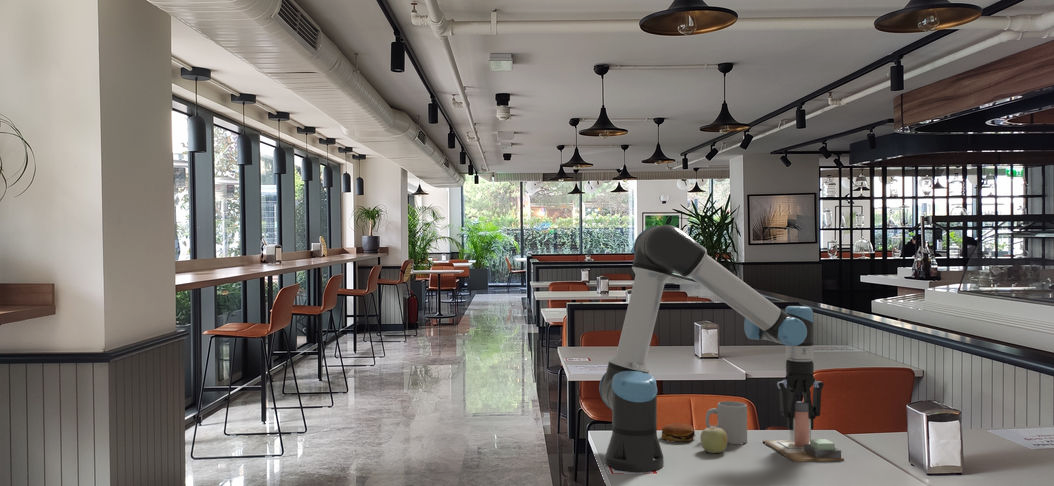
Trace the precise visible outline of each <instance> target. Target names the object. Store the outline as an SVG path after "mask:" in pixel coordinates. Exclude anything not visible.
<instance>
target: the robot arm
mask: <svg viewBox="0 0 1054 486" xmlns="http://www.w3.org/2000/svg"><path fill="white" fill-rule="evenodd" d="M633 254H634V258H633V261H632V265H631V269H632V271H633V273H634V274H635V276H634V281H633V284H632V288H631V292H630V297H629V301H628V305H627V309H626V312H625V318H624V320H623V321H624V322H623V325H622V329H621V333H620V337H619V342H618V346H617V350H616V354H615V355H614V357H612V358H610V359H609V360H608V363H607V368H606V372H605V373H604V374H603V375H602V377H601V379H600V381H599V386H598V387H599V388H598V389H599V394H600V398H601V399H602V401H603V403H604V405H606V406H607V408H608V409H610V410H611V411H612V412H611V413H612V414H611V416H612V417H611V418H612V420H611V421H612V425H611V426H612V427H611V429H612V432H611V437H610V439H609V443H608V446H607V449H606V453H605V464H606V466H608V467H610V468H613V469H616V470H621V471H626V472H651V471H656V470H659V469H661V468H663V467H664V463H665V462H664V454H663V450H662V448H661V444H660V442H659V438H658V433H657V432H658V431H657V429H658V428H657V426H658V425H657V423H658V421H657V417H658V416H657V414H658V411H657V410H658V408H657V407H658V406H657V405H658V400H657V397H658V387H657V380H656V378H655V377H654V376H653V375H652V374H649V373H650V370H649V369H648V366H647V365H646V362H647V358H648V354H649V349H650V346H651V343H652V342H651V341H652V337H653V333H654V330H655V325H656V322H657V316H658V313H659V309H660V305H661V300H662V298H663V297H662V296H663V292H664V290H665V289H664V288H665V284H666V282H667V281H669V280H670V279H672V278H673V274H674V272H676V273H678V274H679V275H681V277H683V278H690V279H691V280H693V281H695V283H698V284H699V285H700V286H701V287H703V288H704V289H706V290H707V291H708V292H710V293H711V294H712V295H714V296H716V297H717V298H718V299H719V300H721V301H722V302H724V303H725V304H726V305H728V306H729V307H730V308H732V309H733V310H735V311H736V312H737V313H738V314H740V315H741V316H742V317H744V321H743V322H744V323H743V325H744V326H743V328H744V333H745V336H746V337H747V338H748V339H749V340H756V341H759V340H760V341H761V340H763V341H764V340H765V341H768V342H769V341H770V342H773V343H778V344H781V345H784V346H785V358H786V361H785V377H784V379H783V380H782V381H776V383H775V384H776V387H777V389H778V400H779V402H778V403H779V412H780V413H779V414H780V415H781V416H783V417H785V418H786V428H787V429H788V430H789V440H791V441H793V442H795V419H794V414H795V403H796V402H797V400H798V396H799V394H800V393H801V394H802V398H803V399H802V400H803V402H807V403H808V410H809V411H808V416H809V442H810V439H812V431H813V430H814V426H815V425H814V422H815V421H814V420H815V419H816V417H821V407H822V404H821V403H822V390H823V387H824V386H825V383H824V382H822V381H818V380H816V378H815V376H814V371H815V369H814V367H815V364H814V361H813V359H814V323H815V322H814V311H813V309H812V308H811V307H810V306H801V305H788V306H786V307H785V309H784V310H782V309H781V308H779V307H778V306H777V305H775V304H774V303H773V302H771V300H769V299H767V298H766V297H765V296H763V295H762V294H761V293H759V292H758V291H757V290H756V289H754V288H752V287H751V286H750V285H749V284H747V283H746V282H744V280H742V279H740V277H738V276H737V275H735V274H734V273H733V272H731V271H730V270H728V269H727V268H726V267H724V266H723V265H722V264H721V263H719V262H718V261H716V260H715V259H714V258H712V257H711V256H710V255H708V251H707V248H705V247H704V246H703V245H701V244H700V243H699V242H697V241H696V240H695V239H693V237H691V236H690V235H688V234H687V233H686V232H684V231H683V230H682V229H681V228H679V227H677V226H674V225H671V224H670V225H669V224H664V225H659V226H656V225H655V226H650V227H648V228H646V229H644V230H642V232H640V233H639V234H638V235H637V237H636V239H635V240H634V243H633ZM787 386H788V387H789V390H788V391H789V392H788V393H789V396H788V397H787V395H788V394H787ZM811 388H813V390H812V393H811ZM811 395H812V396H811Z"/></svg>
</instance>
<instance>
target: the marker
mask: <svg viewBox="0 0 1054 486" xmlns="http://www.w3.org/2000/svg"><path fill="white" fill-rule="evenodd" d="M808 411H809V410H808V403H807V402H804V401H799V400H798V401H797V402H796V403H795V414H794V419H795V445H797V446H804V444H809V416H808Z"/></svg>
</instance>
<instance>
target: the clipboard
mask: <svg viewBox="0 0 1054 486" xmlns="http://www.w3.org/2000/svg"><path fill="white" fill-rule="evenodd" d="M763 442H765V443H766V444H767V445H766V444H765V443H764V444H765V445H766V446H768V445H769V446H770V448H771V447H772V448H771V449H773V448H774V449H775V450H774V449H773V450H774V451H776V450H777V451H778V453H779V452H780V453H779V454H781V455H783V456H784V457H786V458H787V459H789V460H791V461H792V462H796V463H797V462H834V461H835V462H836V461H837V460H844V461H845V458H844V457H843V456H842V450H841V449H839V448H837V447H836V446H835V450H817V449H815V448H813V447H811V446H810V442H809V444H804V446H797V445H795V442H793V441H791V440H790V439H780V440H779V439H775V440H770V439H769V440H768V439H767V440H762V443H763ZM769 446H768V447H769ZM777 451H776V452H777ZM837 462H838V461H837Z"/></svg>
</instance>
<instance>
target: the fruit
mask: <svg viewBox="0 0 1054 486" xmlns="http://www.w3.org/2000/svg"><path fill="white" fill-rule="evenodd" d="M712 426H713V427H709V428H707V427H706V428H704V429H703V430H702V431H701V434H700V443H701V446H702V448H703V449H704V450H705V451H706V452H707V453H709V454H716V453H717V454H718V453H721V452H724V451H725V450H726V448H727V446H728V444H727V441H728V439H727V434H726V432H725V431H724V430H723V429H721V428H717V427H714V426H716V423H714V424H712Z"/></svg>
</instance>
